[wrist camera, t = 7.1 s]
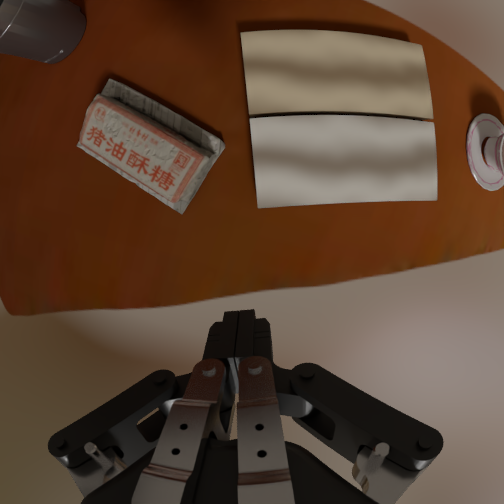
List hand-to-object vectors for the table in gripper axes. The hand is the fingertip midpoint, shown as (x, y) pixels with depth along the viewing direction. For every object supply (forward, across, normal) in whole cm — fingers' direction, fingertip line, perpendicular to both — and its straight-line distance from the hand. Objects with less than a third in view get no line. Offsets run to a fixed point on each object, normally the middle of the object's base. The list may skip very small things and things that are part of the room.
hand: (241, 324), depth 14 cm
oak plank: (+21, -12, -17) cm, 29 cm away
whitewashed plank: (+20, -12, -6) cm, 24 cm away
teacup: (+21, -37, -8) cm, 43 cm away
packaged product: (+22, +12, -12) cm, 27 cm away
